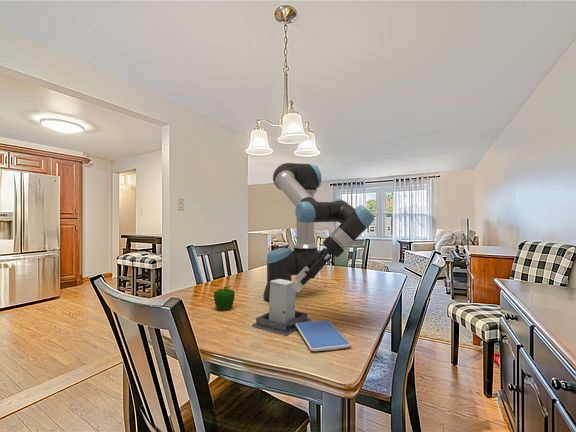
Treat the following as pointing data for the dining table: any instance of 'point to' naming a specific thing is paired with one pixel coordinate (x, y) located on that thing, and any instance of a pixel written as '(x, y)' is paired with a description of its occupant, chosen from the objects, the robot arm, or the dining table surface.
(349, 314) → the dining table surface
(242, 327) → the dining table surface
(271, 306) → the skincare box
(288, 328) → the square metal tray
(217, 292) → the bell pepper
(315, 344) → the tablet computer
